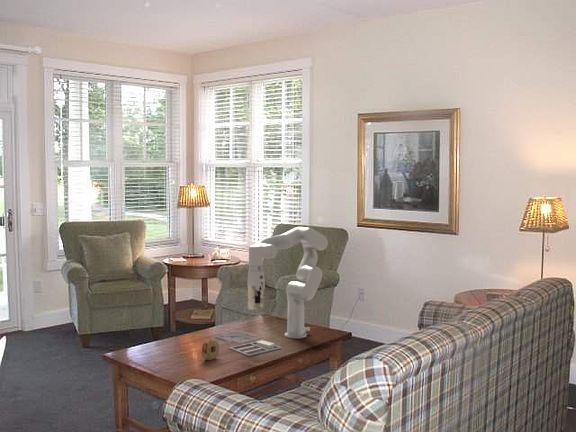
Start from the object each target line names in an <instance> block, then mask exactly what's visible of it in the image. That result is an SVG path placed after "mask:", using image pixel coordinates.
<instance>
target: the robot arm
mask: <svg viewBox="0 0 576 432" xmlns="http://www.w3.org/2000/svg"><path fill="white" fill-rule="evenodd" d="M299 243H301V245H302V248H303V256H302V259H301V261H300V264H299V265H298V267H297V270H296V273H295V277H296V279H298V280H299V281H298V280H291V281H290V282H288V284H287V285H286V287H285V291H286V292H285V293H286V298H287V299H286V300H287V321H286V323H287V325H286V330H287V331H286V332H285V333H284V337H285V338H288V339H295V340H297V339H304V338H307V336H308V335H307V333H306V332H309V331H310V330H311V327H308V326H307V327H305V301H310V300H312V299H313V298H314V297H315V295H316V293H317V291H318V288H319V286H320V284H321V281H322V279H323V270H322V269H321V268H320V267H318V266H316V265H317V263H318V257H319V256H318V253H317V251H325V250H326V249H327V247H328V244H329V241H328V239H327V237H326V236H325V235H323V234H322V233H320V232H319V231H317V230H316V229H313V228H312V227H305V226H296V227H293V228H292V229H290V230H288V231H286V232H283V233H281V234H278V235H274V236H270V237H266V238H264V239H262V240H260V241H258V242H256V243H255V244H252V245H250V246H249V247H248V272H247V281H246V283H247V287H246V289H248V286H252V287H254V290H256V296H255V303H260V296H261V294H262V293H263V294H264V292H265V290H266V289H265V287H266V283H265V282H266V279H265V272H264V259H273V258H275V257H277V254H278V250H286V249H289V248H291V247H293V246H296V245H298V244H299ZM258 291H259V292H258Z"/></svg>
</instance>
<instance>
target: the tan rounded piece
mask: <svg viewBox="0 0 576 432" xmlns="http://www.w3.org/2000/svg"><path fill="white" fill-rule="evenodd" d="M219 352H220V346H219V343H218V341H217V340H216V339H213V338H210V339H206V340H205V341H204V342H203V343H202V346H201V356H202V358H203V359H204V360H205V361H211V360H214V359H216V358H217V357H218V355H219Z"/></svg>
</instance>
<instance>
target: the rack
mask: <svg viewBox="0 0 576 432" xmlns="http://www.w3.org/2000/svg"><path fill="white" fill-rule="evenodd" d="M261 340H262V339H261ZM261 340H256V341H252V342H251V341H250V342H246V343H243V344H242V343H241V344H238V345H233V346H230V347H228V349H229V350H231V351H233V352H235V353H238V354H241V355H242V356H246V357H248V358H249V357H253V356H257V355H261V354H262V355H263V354H265V353H271V352H273V351H279V350H283V347H282V346H279V345H277V344H274V348H272V349H266V348H263V347H260V346H258V345H257V342H258V341H261ZM244 350H245V351H244ZM258 351H259V352H258Z"/></svg>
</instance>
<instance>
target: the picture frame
mask: <svg viewBox="0 0 576 432" xmlns="http://www.w3.org/2000/svg"><path fill="white" fill-rule="evenodd" d="M215 338H217V339H220V340H222V341H226V342H231V341H232V342H236V343H239V344H242V343H243V344H245V343H249V342H251V341H252V342H253V341H255V340H256V341H257V340H259V339H263V338H264V337H263V336H260V335H256V334H254V333H250V332H247V331H243V330H241V329H235V330H230V331H226V332H220V333H219V332H218V333H216V334H215Z"/></svg>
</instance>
